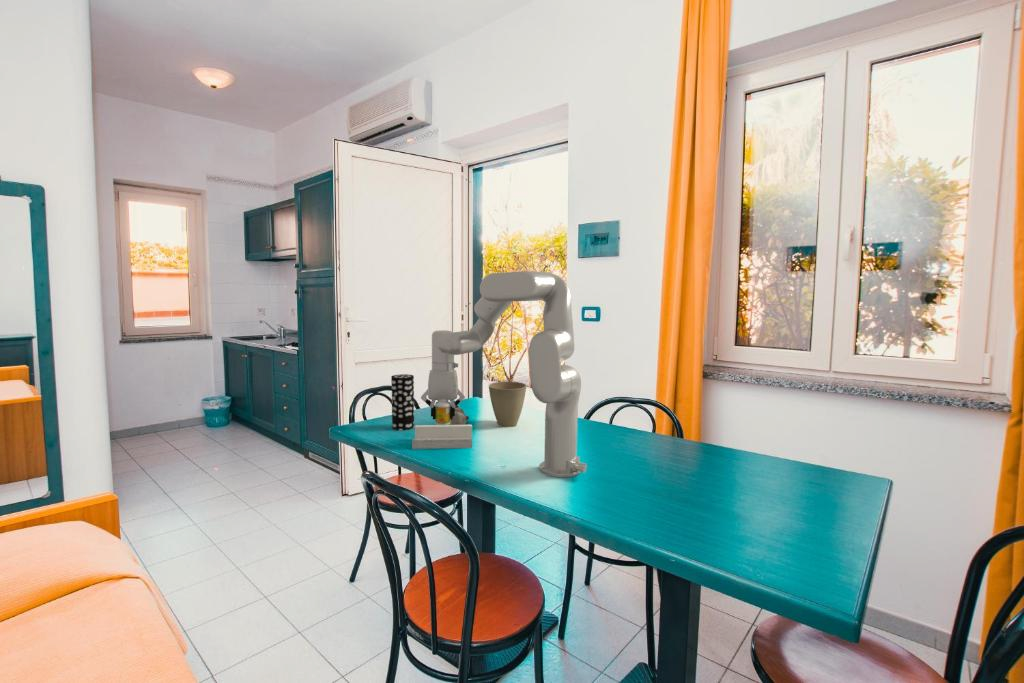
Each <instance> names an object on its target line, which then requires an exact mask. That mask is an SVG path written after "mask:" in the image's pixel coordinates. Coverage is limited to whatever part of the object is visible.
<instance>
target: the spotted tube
mask: <svg viewBox="0 0 1024 683" xmlns="http://www.w3.org/2000/svg"><path fill="white" fill-rule="evenodd" d="M390 378H391V382H390V383H391V428H392V429H393V430H395V431H410V430H413V429H415V382H414V381H415V377H414V375H413V374H408V373H407V374H406V373H405V374H404V373H403V374H394V375H391V376H390Z"/></svg>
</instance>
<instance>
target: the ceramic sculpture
mask: <svg viewBox="0 0 1024 683" xmlns="http://www.w3.org/2000/svg"><path fill="white" fill-rule="evenodd" d="M469 418H470V416H469V415H466V414H465V411H464V410H463V409H462V408H461V407H459V405H457V406H456V407H455V416H453V419H451V423H450V424H449V425H467V422H468V421H469Z"/></svg>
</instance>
